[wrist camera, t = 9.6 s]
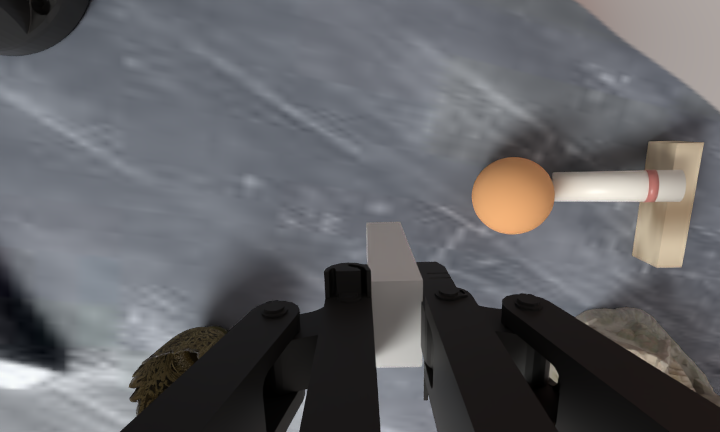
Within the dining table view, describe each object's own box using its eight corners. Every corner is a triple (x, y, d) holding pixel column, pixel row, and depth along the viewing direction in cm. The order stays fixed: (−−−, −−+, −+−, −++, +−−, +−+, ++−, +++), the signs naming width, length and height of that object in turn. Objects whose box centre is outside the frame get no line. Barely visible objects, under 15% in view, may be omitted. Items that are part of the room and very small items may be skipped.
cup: (266, 319, 36) (240, 373, 28) (243, 383, 38) (213, 451, 30) (188, 293, 36) (139, 341, 28) (168, 360, 37) (118, 422, 29)
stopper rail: (648, 141, 32) (677, 143, 29) (672, 140, 32) (703, 142, 29) (632, 255, 35) (656, 267, 32) (654, 254, 35) (681, 267, 32)
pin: (554, 172, 31) (687, 169, 28) (551, 170, 33) (674, 168, 30) (553, 203, 31) (684, 204, 28) (550, 199, 33) (671, 200, 30)
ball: (553, 153, 31) (476, 155, 34) (560, 159, 26) (467, 161, 28) (550, 225, 33) (475, 222, 35) (555, 246, 27) (467, 241, 29)
